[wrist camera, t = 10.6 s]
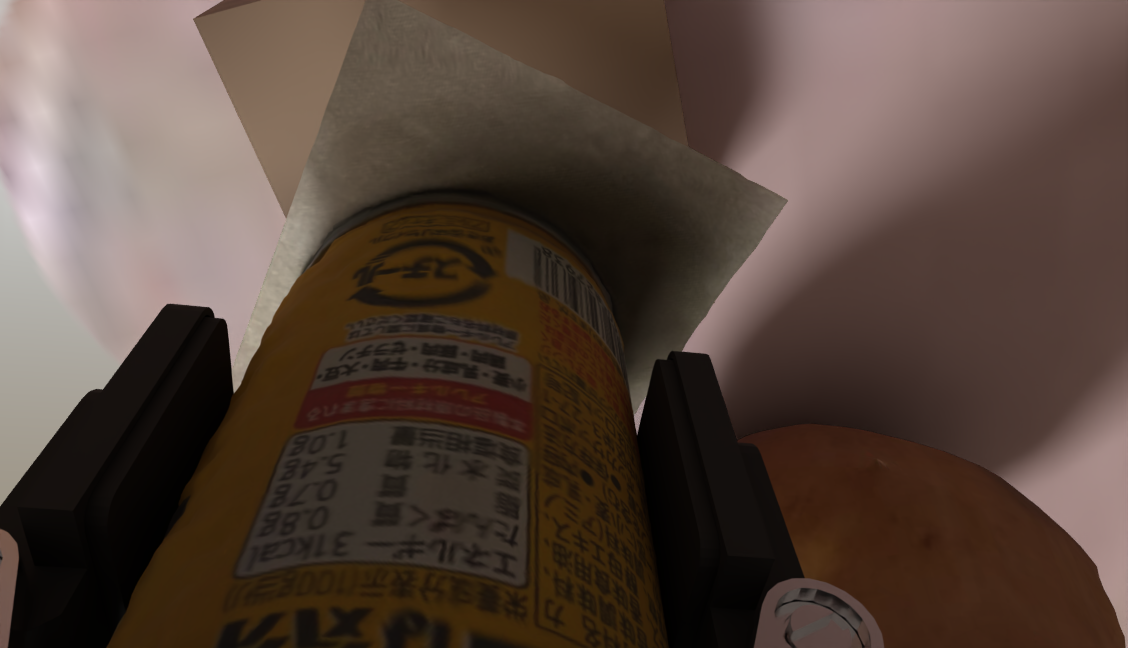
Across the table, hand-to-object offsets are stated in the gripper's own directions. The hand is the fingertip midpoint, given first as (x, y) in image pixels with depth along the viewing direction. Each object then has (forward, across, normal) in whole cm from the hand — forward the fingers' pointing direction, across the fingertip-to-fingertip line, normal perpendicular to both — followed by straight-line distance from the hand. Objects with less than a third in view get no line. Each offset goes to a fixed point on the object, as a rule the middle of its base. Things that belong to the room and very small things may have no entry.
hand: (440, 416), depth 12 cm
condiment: (+3, 0, 0) cm, 4 cm away
